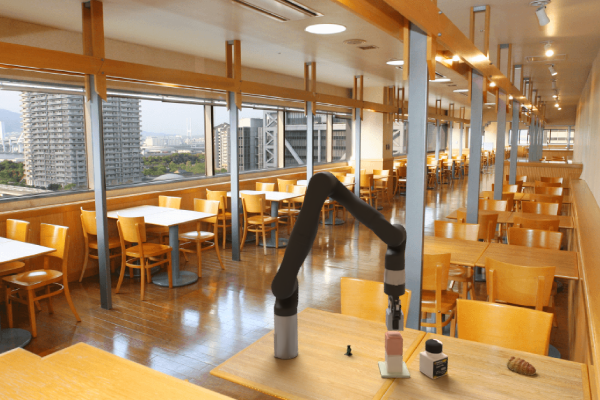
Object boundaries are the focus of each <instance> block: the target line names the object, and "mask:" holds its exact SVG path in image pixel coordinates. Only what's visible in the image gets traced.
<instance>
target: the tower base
mask: <svg viewBox="0 0 600 400" xmlns="http://www.w3.org/2000/svg"><path fill="white" fill-rule="evenodd" d="M403 358H404V356H403V355H387V353H386V350H385V349H384V361H377V365H378V368H379V373H380V376H381V378H388V379H389V378H398V379H399V378H402V379H403V378H411V374H410V372H409V370H408V369H409V368H408V366H407V364H406V362H405V361H403V360H404V359H403Z"/></svg>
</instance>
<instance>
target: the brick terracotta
mask: <svg viewBox="0 0 600 400" xmlns="http://www.w3.org/2000/svg"><path fill="white" fill-rule="evenodd" d="M403 349H404V338H403V335H402V334H401V331H388V330H387V331H386V332H384V351H385V350H386V353H387V355H402V356H403V354H404V353H403V352H404V350H403Z"/></svg>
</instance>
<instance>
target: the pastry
mask: <svg viewBox="0 0 600 400" xmlns="http://www.w3.org/2000/svg"><path fill="white" fill-rule="evenodd" d="M506 367H507V368H508V369H509V370H510V371H513V372H515V373H519V374H521V375H526V376H533V375H535V374H536V373H537V369H536V368H535V367H534V365H532V364H531V363H530V362H529V361H526V360H525V359H523V358H521V357H515V356H513V355H511V356H510V357H509V359H508V360H507V363H506Z"/></svg>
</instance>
